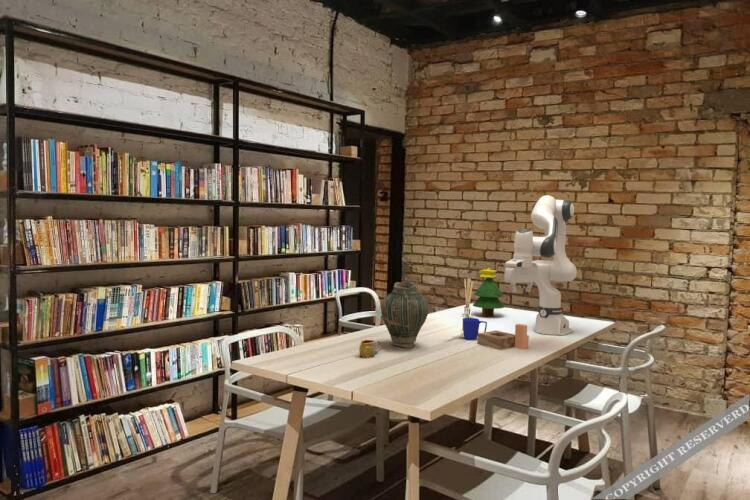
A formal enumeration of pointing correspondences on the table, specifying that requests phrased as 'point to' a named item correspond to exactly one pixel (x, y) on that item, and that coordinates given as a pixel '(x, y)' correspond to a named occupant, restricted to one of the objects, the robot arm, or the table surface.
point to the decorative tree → (488, 294)
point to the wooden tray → (496, 339)
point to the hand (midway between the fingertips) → (521, 292)
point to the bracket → (521, 336)
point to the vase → (404, 313)
